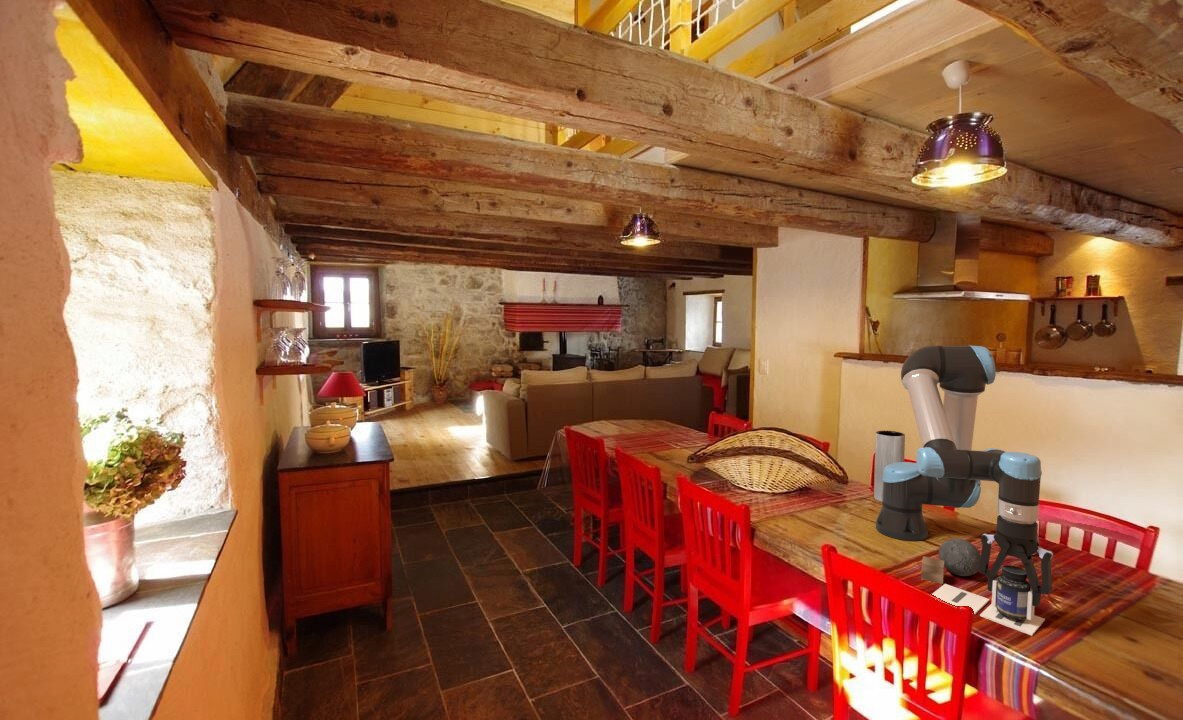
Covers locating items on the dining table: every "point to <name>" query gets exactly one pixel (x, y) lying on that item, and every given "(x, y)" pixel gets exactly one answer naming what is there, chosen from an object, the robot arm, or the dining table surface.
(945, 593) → the coaster
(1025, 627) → the coaster
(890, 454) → the vase
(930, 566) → the walnut block
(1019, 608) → the pill bottle
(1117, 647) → the dining table surface
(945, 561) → the decorative ball
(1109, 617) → the dining table surface
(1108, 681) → the dining table surface
